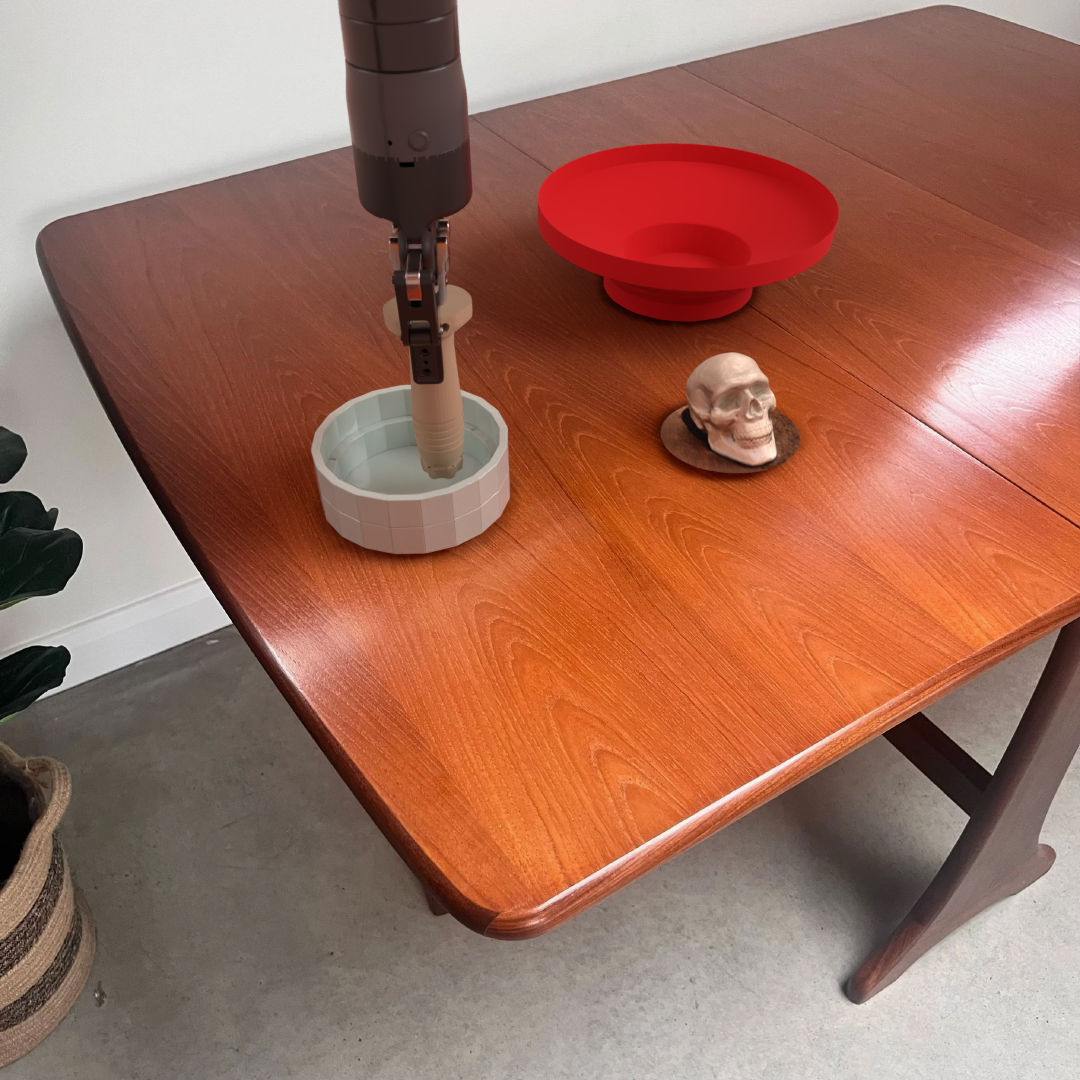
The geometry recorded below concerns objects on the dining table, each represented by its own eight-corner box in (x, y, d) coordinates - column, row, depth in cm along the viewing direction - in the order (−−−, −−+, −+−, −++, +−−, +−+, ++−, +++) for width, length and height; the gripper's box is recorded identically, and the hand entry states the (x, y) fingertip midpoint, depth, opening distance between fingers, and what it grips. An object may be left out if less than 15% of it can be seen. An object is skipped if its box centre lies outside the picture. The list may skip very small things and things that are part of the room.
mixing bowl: (311, 562, 80) (298, 502, 76) (335, 443, 92) (325, 386, 88) (510, 557, 81) (507, 497, 77) (510, 439, 92) (507, 382, 88)
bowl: (521, 352, 103) (519, 259, 96) (553, 219, 125) (553, 136, 119) (836, 368, 100) (855, 273, 93) (810, 229, 122) (825, 144, 116)
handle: (393, 468, 85) (372, 301, 75) (462, 442, 87) (450, 278, 77) (421, 499, 82) (402, 330, 72) (492, 471, 84) (483, 305, 74)
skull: (837, 452, 88) (776, 393, 81) (743, 530, 91) (678, 479, 85) (774, 374, 96) (714, 315, 90) (690, 449, 100) (626, 396, 93)
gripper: (362, 92, 72) (389, 311, 83) (336, 176, 61) (371, 415, 72) (472, 90, 72) (484, 309, 83) (465, 174, 61) (479, 413, 72)
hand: (431, 358), depth 77 cm, fingers closed on handle, 5 cm apart
